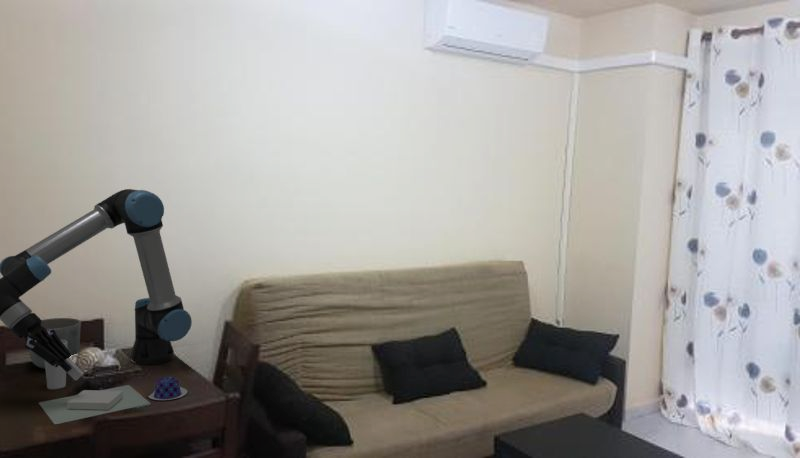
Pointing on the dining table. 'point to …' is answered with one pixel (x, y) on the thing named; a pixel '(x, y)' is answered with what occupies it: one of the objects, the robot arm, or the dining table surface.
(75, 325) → the planter
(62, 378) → the drinking glass
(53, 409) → the rubber mat
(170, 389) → the pudding
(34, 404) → the dining table surface
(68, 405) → the ceramic tile
